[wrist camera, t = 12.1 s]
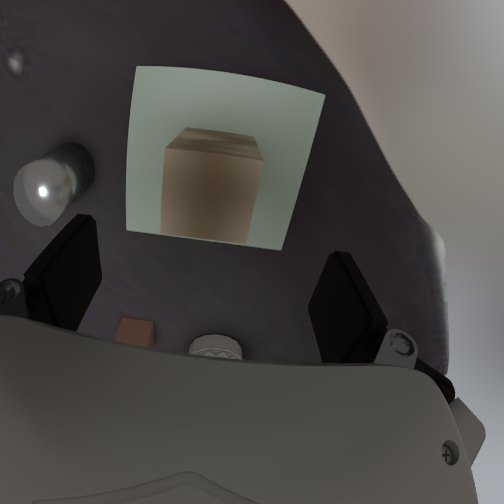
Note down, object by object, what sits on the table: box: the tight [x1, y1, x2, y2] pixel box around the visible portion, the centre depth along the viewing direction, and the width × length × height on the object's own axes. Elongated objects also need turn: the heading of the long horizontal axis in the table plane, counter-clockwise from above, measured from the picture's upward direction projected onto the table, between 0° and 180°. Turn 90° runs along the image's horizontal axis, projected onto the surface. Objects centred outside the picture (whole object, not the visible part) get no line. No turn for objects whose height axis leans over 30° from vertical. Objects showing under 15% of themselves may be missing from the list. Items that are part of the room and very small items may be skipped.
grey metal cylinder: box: [13, 143, 95, 227], centre depth 17 cm, size 5×5×6 cm
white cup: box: [189, 334, 242, 359], centre depth 30 cm, size 8×8×10 cm
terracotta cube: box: [115, 317, 155, 348], centre depth 30 cm, size 4×4×4 cm
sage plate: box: [126, 66, 325, 250], centre depth 21 cm, size 14×14×1 cm
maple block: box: [160, 127, 264, 244], centre depth 17 cm, size 5×5×7 cm
